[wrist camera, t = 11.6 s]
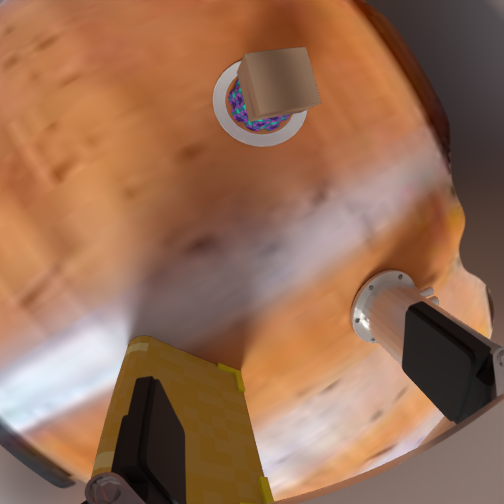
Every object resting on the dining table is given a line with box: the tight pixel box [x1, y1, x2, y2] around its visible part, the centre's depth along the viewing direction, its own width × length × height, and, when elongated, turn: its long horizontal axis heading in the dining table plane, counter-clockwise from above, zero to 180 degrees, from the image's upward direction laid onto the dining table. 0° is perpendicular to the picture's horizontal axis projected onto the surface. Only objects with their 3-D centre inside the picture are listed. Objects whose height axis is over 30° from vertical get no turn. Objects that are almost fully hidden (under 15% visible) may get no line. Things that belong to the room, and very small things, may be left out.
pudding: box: [213, 61, 307, 147], centre depth 33 cm, size 12×12×5 cm
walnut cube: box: [237, 47, 321, 122], centre depth 28 cm, size 6×6×6 cm
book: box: [91, 336, 274, 504], centre depth 31 cm, size 17×7×25 cm, turn 59°
